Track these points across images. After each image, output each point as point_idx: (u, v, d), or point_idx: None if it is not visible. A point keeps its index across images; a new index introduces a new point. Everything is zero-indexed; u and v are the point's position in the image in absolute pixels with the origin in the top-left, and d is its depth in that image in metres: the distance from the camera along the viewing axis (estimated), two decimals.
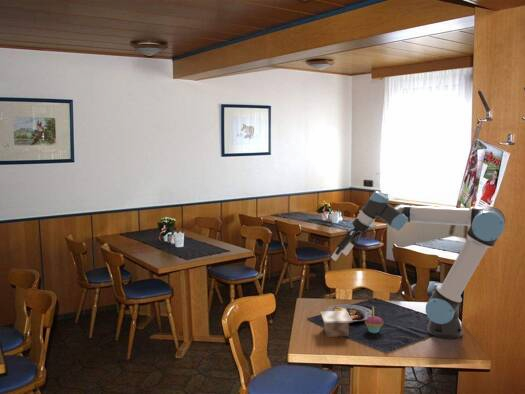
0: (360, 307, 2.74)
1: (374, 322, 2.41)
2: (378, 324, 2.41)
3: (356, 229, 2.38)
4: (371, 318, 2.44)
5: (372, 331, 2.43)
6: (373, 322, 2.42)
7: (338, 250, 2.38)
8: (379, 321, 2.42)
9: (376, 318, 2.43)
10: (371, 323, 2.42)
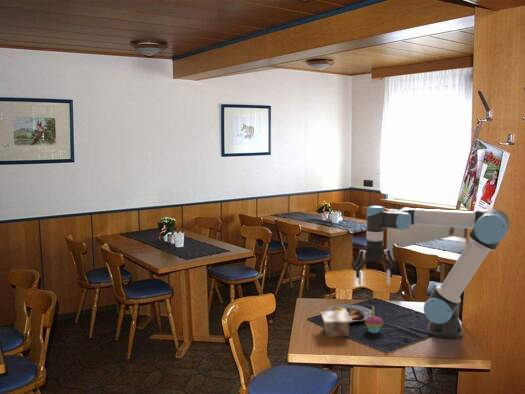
0: (360, 307, 2.74)
1: (374, 322, 2.41)
2: (378, 324, 2.41)
3: (366, 248, 2.40)
4: (371, 318, 2.44)
5: (372, 331, 2.43)
6: (373, 322, 2.42)
7: (356, 273, 2.42)
8: (379, 321, 2.42)
9: (376, 318, 2.43)
10: (371, 323, 2.42)
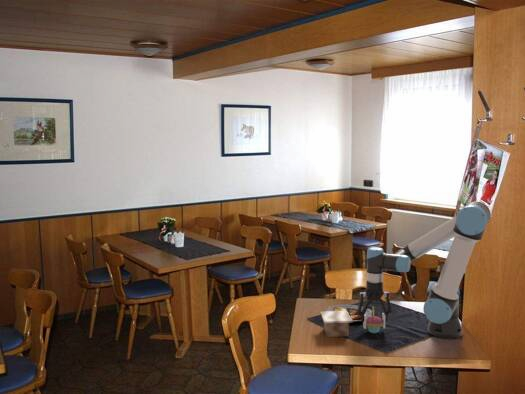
0: None
1: (374, 322, 2.41)
2: (378, 324, 2.41)
3: None
4: (371, 318, 2.44)
5: (372, 331, 2.43)
6: (373, 322, 2.42)
7: (361, 316, 2.44)
8: (379, 321, 2.42)
9: (376, 318, 2.43)
10: (371, 323, 2.42)
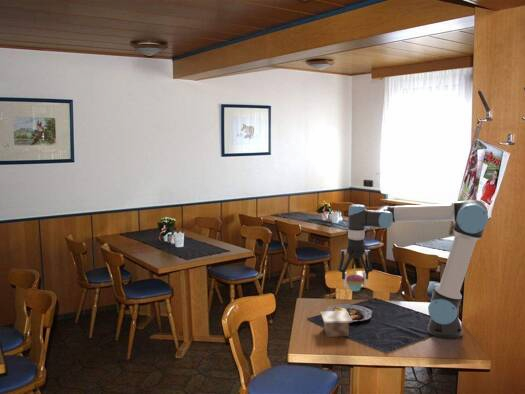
0: (360, 307, 2.74)
1: (355, 280, 2.39)
2: (359, 282, 2.38)
3: None
4: (352, 276, 2.41)
5: (353, 289, 2.41)
6: (353, 279, 2.39)
7: (342, 274, 2.42)
8: (360, 279, 2.39)
9: (357, 276, 2.41)
10: (352, 280, 2.39)
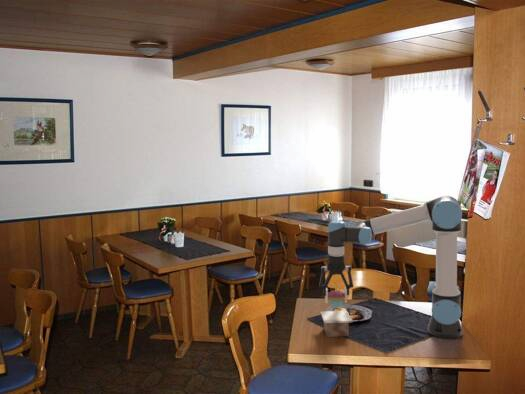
0: (360, 307, 2.74)
1: (335, 296, 2.39)
2: (339, 298, 2.39)
3: None
4: (333, 292, 2.42)
5: (334, 305, 2.41)
6: (334, 295, 2.39)
7: (323, 290, 2.42)
8: (341, 295, 2.40)
9: (338, 292, 2.41)
10: (333, 297, 2.39)
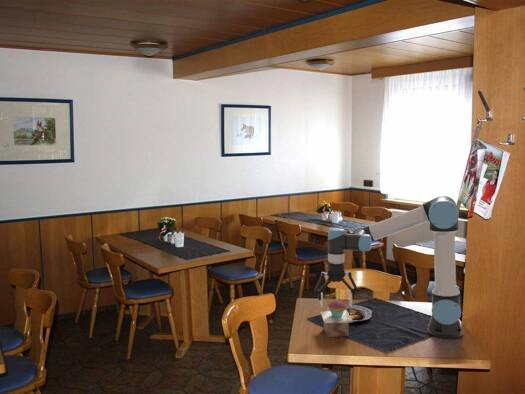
0: (360, 307, 2.74)
1: (337, 307, 2.40)
2: (341, 308, 2.39)
3: (328, 270, 2.41)
4: (334, 302, 2.42)
5: (335, 316, 2.42)
6: (335, 306, 2.40)
7: (318, 295, 2.42)
8: (342, 305, 2.40)
9: (339, 302, 2.42)
10: (334, 307, 2.40)
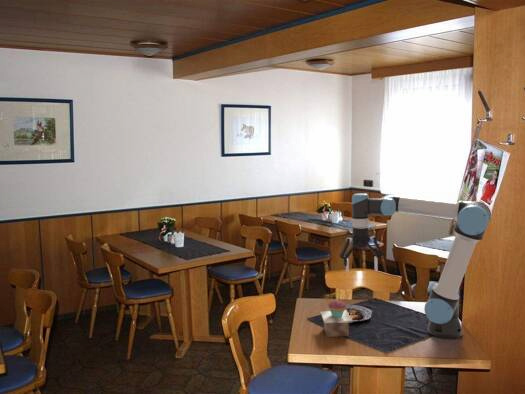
0: (360, 307, 2.74)
1: (337, 307, 2.40)
2: (341, 308, 2.40)
3: (353, 235, 2.42)
4: (334, 302, 2.42)
5: (335, 315, 2.42)
6: (335, 306, 2.40)
7: None
8: (342, 305, 2.40)
9: (339, 302, 2.42)
10: (334, 307, 2.40)
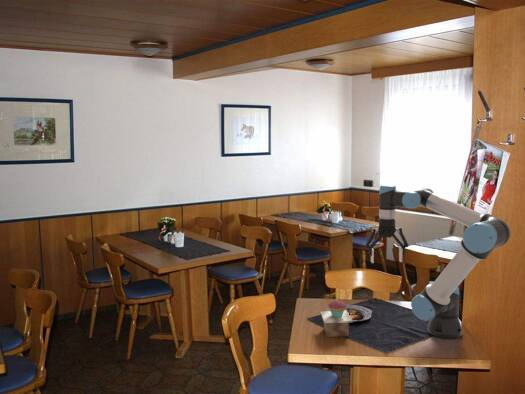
0: (360, 307, 2.74)
1: (337, 307, 2.40)
2: (341, 308, 2.40)
3: (379, 226, 2.45)
4: (334, 302, 2.42)
5: (335, 315, 2.42)
6: (335, 306, 2.40)
7: (369, 250, 2.47)
8: (342, 305, 2.40)
9: (339, 302, 2.42)
10: (334, 307, 2.40)
